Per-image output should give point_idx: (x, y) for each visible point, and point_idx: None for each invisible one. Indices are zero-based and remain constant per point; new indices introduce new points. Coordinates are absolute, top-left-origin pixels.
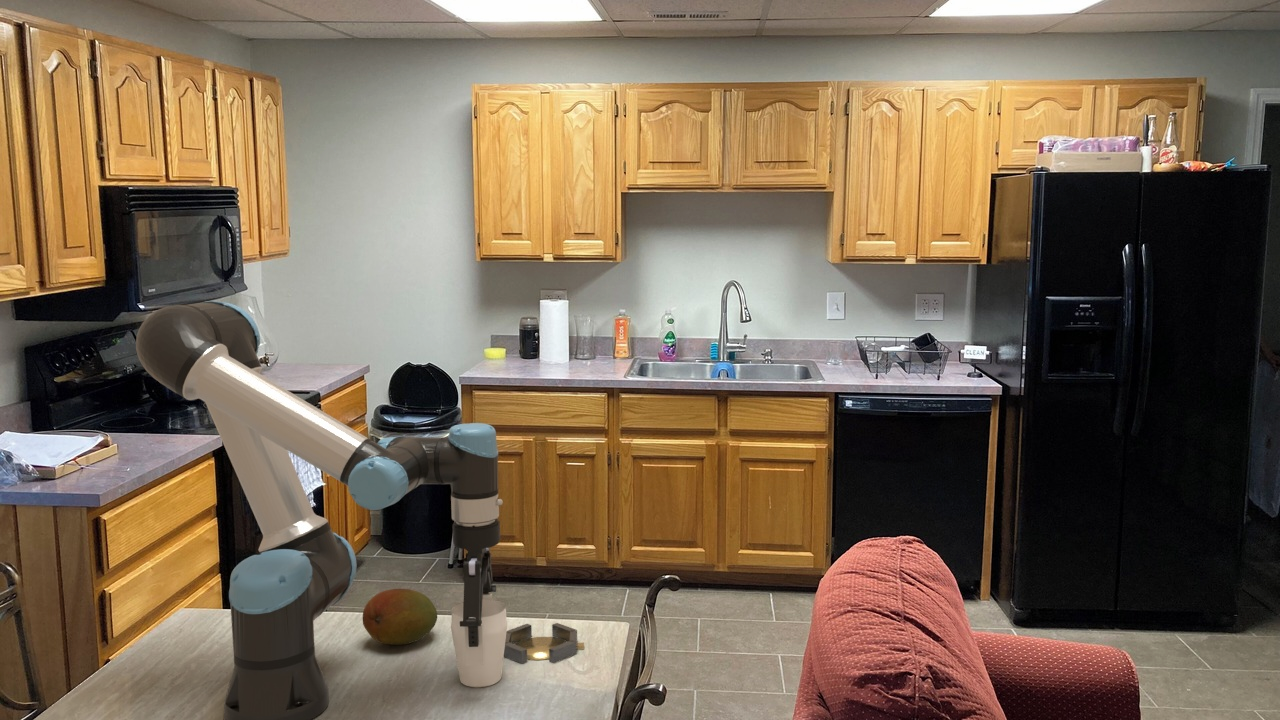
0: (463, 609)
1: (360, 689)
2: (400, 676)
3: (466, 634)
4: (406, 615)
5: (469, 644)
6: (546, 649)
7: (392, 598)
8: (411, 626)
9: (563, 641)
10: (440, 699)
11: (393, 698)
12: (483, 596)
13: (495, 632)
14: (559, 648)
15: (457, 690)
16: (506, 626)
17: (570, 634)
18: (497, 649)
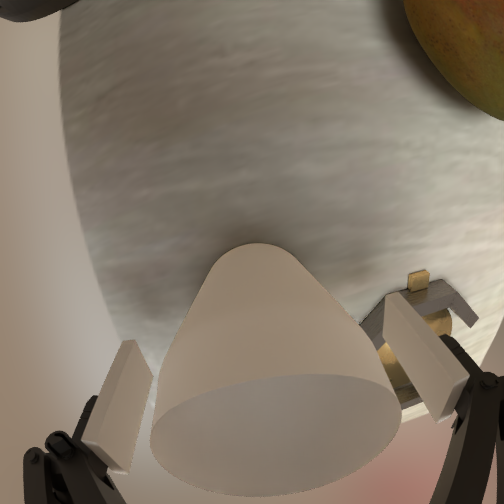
0: (25, 495)
1: (157, 11)
2: (249, 70)
3: (93, 416)
4: (464, 34)
5: (87, 404)
6: (397, 362)
7: None
8: (445, 54)
9: None
10: (129, 232)
11: (113, 113)
12: (442, 401)
13: (210, 443)
14: None
15: (184, 256)
16: (272, 448)
17: (413, 399)
18: (226, 398)
